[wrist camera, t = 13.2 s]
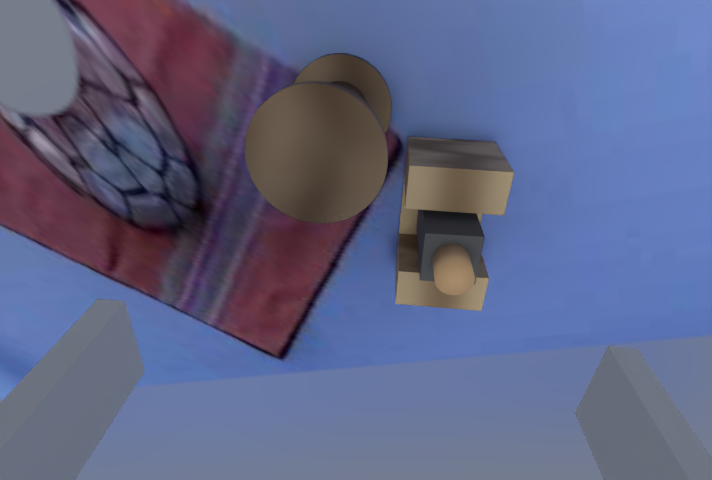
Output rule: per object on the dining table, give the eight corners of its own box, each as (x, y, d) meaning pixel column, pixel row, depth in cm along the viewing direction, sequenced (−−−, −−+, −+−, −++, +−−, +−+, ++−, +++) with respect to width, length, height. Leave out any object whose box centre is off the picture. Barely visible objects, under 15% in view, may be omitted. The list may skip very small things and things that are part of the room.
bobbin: (293, 152, 36) (251, 218, 26) (289, 50, 32) (237, 80, 22) (387, 158, 36) (382, 228, 26) (395, 55, 32) (393, 89, 21)
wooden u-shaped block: (395, 259, 41) (395, 303, 35) (408, 136, 35) (409, 165, 29) (469, 265, 40) (481, 310, 35) (495, 141, 34) (514, 172, 29)
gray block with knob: (416, 227, 38) (421, 301, 29) (420, 186, 36) (427, 251, 27) (461, 230, 38) (480, 305, 29) (468, 189, 36) (490, 255, 27)
